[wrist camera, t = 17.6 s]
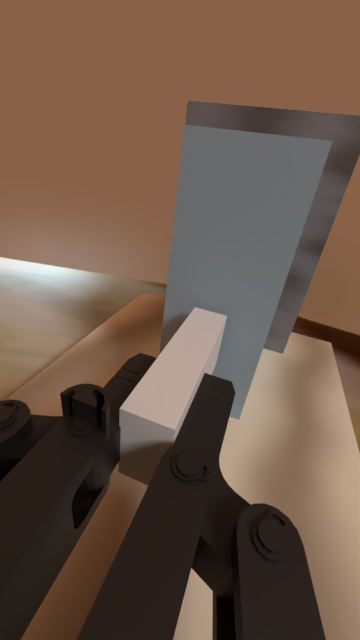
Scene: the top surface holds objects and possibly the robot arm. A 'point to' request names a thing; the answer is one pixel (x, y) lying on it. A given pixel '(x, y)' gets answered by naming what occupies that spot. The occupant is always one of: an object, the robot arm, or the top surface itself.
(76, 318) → the top surface
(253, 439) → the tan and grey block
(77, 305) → the top surface
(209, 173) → the boxed book
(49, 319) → the top surface
